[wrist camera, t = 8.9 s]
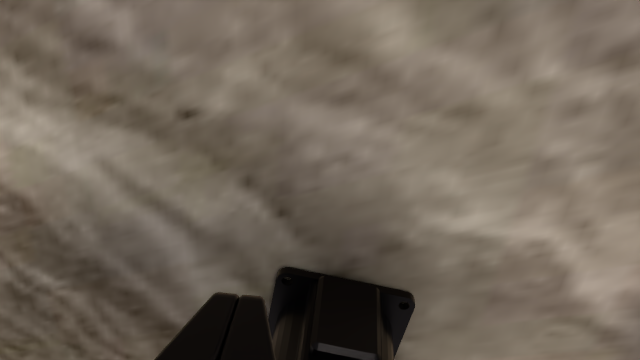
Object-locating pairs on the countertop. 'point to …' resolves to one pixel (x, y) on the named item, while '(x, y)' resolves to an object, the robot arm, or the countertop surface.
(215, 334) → the robot arm
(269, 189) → the countertop surface
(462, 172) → the countertop surface
